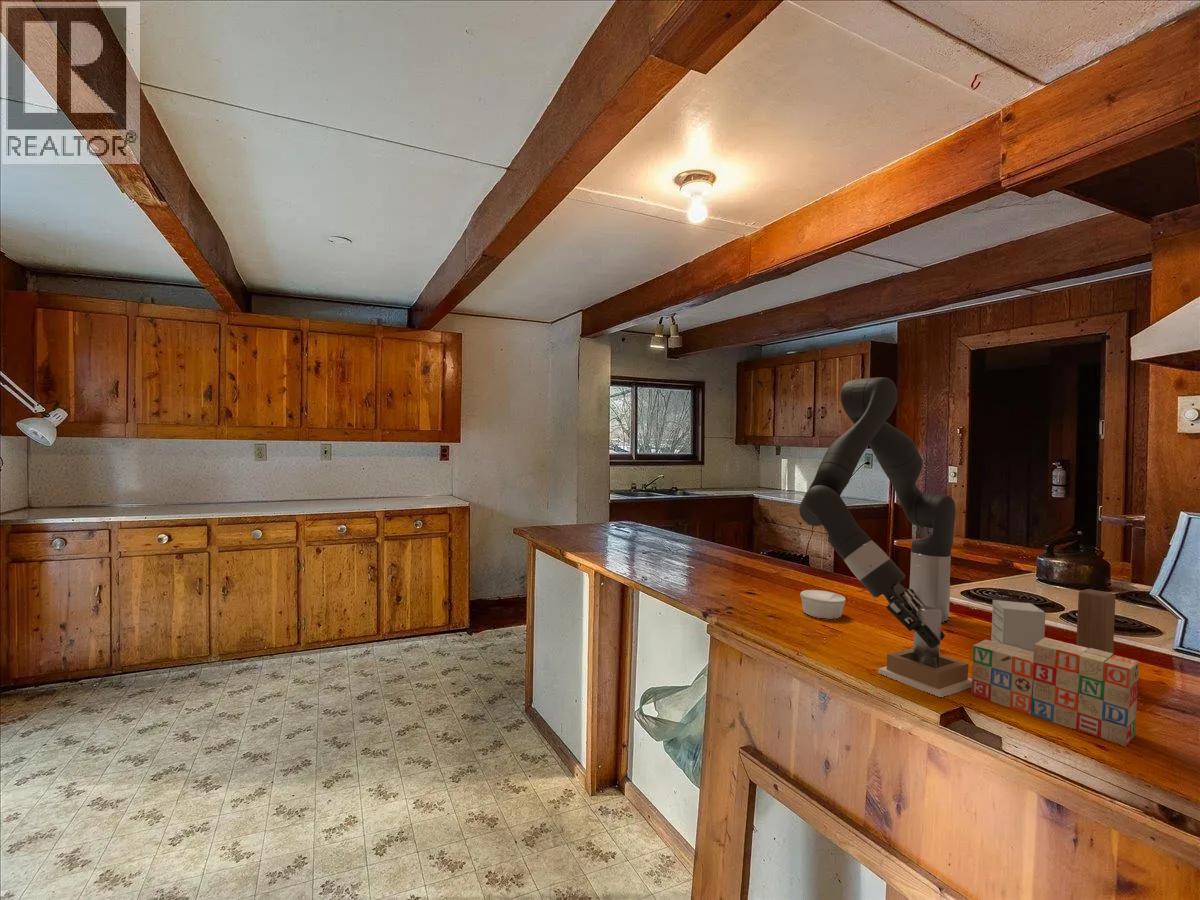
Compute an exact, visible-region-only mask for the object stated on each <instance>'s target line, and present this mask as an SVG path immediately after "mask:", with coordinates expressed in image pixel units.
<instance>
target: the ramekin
mask: <svg viewBox="0 0 1200 900" xmlns="http://www.w3.org/2000/svg"><path fill="white" fill-rule="evenodd" d="M799 596H800V598H801V605H802V611H803V613H804V614H805V613H806V614H805V615H807V614H808V615H810V616H809V617H811V616H813V617H812V618H814V617H818V618H817V619H819V618H828V619H832V618H838V619H840V618H841V617H842V615H843V611H844V607H845V604H846V597H845V596H844V595H841V594H839V593H835V592H831V591H827V590H818V589H805V590H803V591H801V592H800V595H799ZM808 615H807V616H808ZM839 617H840V618H839ZM828 619H827V620H828Z"/></svg>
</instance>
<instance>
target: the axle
mask: <svg viewBox="0 0 1200 900" xmlns="http://www.w3.org/2000/svg"><path fill="white" fill-rule="evenodd" d="M916 607H917V609H918V610H919V612H920V613H919V616H920V617H921V618H922V620H923V621H924V622H925V624H926V625H927V626H928V627H929V628H930V629H931V630H932V632H933V633H934V634H935V635H936V636H937V637H938V638H939V640H940V636H941V631H942V622H941V616H942V611H941V610H939V609H937V608H933V607H928V606H916ZM926 625H925V626H926ZM940 641H941V640H940ZM912 648H913V661H916V662H919V663H921V664H924V665H927V666H930V667H933V668H938V667H939V655H941V654H940V653H941V652H940V651H941V643H940V644H939V645H937V646H936V647H934V648H930V647H929V646H928V645H927V644H926V643H925V641H924V640H923V639H922V638H921V637H920V636H919V634H918V633H917V631H916V632H914V631H913V647H912Z"/></svg>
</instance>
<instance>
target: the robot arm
mask: <svg viewBox="0 0 1200 900" xmlns="http://www.w3.org/2000/svg"><path fill="white" fill-rule="evenodd" d="M840 389H841V390H840V401H841V405H842V408H843V411H844V412H845V414H846V415H847V417H848V418H849V419H850V421H851V422H852V423H853V425H852V426H851V427H850V428H848V430H846V431H845V432H844V433H843V434H841V435H840V436H839V437H838V438H837V439H835V440H834V441H833V442H832V444H830V446H829V447H828V448H827V450H826V452H825V454H824V456H823V457H822V460H821V461H820V463H819V465H818V468H817V471H816V474H815V477H814V478H813V480H812V482H811V484H810V486H809V488H808V489H807V491H806V493H805V494H804V496H803V498H802V500H801V502H800V504H799V510H798V511H799V516H800V518H801V519H802V521H804V522H803V523H806V524H807V525H809V526H811V527H821V526H823V528H824V529H825V531H826V532H827V535H828V536H827V539H828V543H829V544H830V546H831V547H832V548H833V550H834V551H835V552H836V553H837V554H838V555H839V557H840V558H841V559H842V560H843V561H844V563H845V564H846V565H847V567H848V569H850V572H852V574H853V575H854V576H855V578H857V579H858V580H859V582H861V584H862V585H863V587H864V588H865V589H866V590H867V591H868V592H869V594H870V595H871V596H872V597H873V598H876V599H878V597H880V596H881V595H883V596H884V598H885V599H886V600H887V602H888V605H886V609H887V610H888V612H890V613H891V614H892V615H893V616H894V617H895V618H896V619H897V620H898V621H899V622H900V623H901V624H902V625H903V626H904V627H905V628H906V629H907V630H908V631H909V632H911V631H913V633H914V632H916V631H917V633H918V634H919V636H920V637H921V638H922V639H923V640H924V641H925V643H926V644H927V645H928V646H929V647H930V648H934V647H936V646H937V645H939V644H940V645H941V640H943V639H944V638H945V637H946V634H945V633H944V631H942V630H941V636H940V640H939V638H938V637H937V636H936V635H935V634H934V633H933V632H932V630H931V629H930V628H929V627H928V626H927V625H926V624H925V622H924V621H923V620H922V618H921V617H920V616H919V613H920V612H919V610H918V609H917V607H916V606H928V607H933V608H937V609H939V610H941V611H942V616H941V623H945V622H944V621H947V620H948V621H949V618H950V601H951V600H950V598H951V582H950V581H951V580H950V579H951V557H952V547H953V542H954V531H955V523H956V513H957V511H956V509H957V507H956V503H955V501H954V499H953V497H952V496H950V495H948V494H940V493H939V494H938V493H929V492H923V491H921V490H920V489H919V488H918V486H917V484H916V482H917V481H918V479H919V477H920V475H921V473H922V470H923V464H924V463H923V462H924V461H923V459H922V455H921V454H920V452H919V450H918V448H917V447H916V444H915V443H914V441H913V440H912V439H911V438H910V437H909V436H908V435H907V434H906V433H904V432H903V431H901V430H899V428H896V427H895V426H893V425H892V424H890V423H888V422H887V420H888V419H889V418H890V417H891V415H892V413H893V411H894V410H895V408H896V405H897V402H898V389H897V386H896V384H895V382H894V381H893V380H892V379H891V378H888V377H884V376H883V377H881V376H880V377H867V378H866V377H865V378H857V379H852V380H848V381H847V382H845V383H843V384H842V386H841V388H840ZM868 447H869V448H870V449H871V450H872V453H873V454H874V456H875V459H876V460H877V461H878V463H879V465H880V467H881V469H882V470H883V473H884V474H885V475H886V476H887V478H888V480H889V483H890V484H891V485H892V487H893V489H894V492H895V493H896V496H897V498H898V501H899V503H900V505H901V507H902V510H903V512H904V515H905V517H906V518H907V520H908V522H909V523H911V524H912V525H914V526H916V527H921V528H927V529H932V532H931V535H930V536H928V537H926V538H921V539H915V540H913V541H912V542H911V544H910V545H911V547H910V572H909V574H910V575H909V588H908V589H907V588H906V587H904V586H903V585H902V584H901V583H900V582H901V581H904V580H905V578H906V575H905V573H904V572H903V571H902V570H901V569H900V567H899V566H897V564H896V563H895V562H894V560H892V559H891V558H890V556H888V555H887V553H886V552H885V551H884V550H883V548H881V547H880V546H879V545H878V544H877V543H876V542H874V540H873V539H872V538H871V537H870V536H869V535H868V534H867V533H866V532H865V531H864V530H863V529H862V528H861V526H860V525H858V523H857V522H856V520H855V518H854V515H852V513H851V511H850V510H849V508H848V506H847V505H846V503H845V501H844V500H843V499H842V497H841V495H842V493H843V491H844V490H845V489H846V487H847V486H848V484H849V483H850V482H851V481H850V480H851V479H852V476H853V474H854V473H855V470H856V468H857V466H858V464H859V461H860V460H861V458H862V457H863V454H864V453H865V451H866V450H867V448H868ZM948 617H949V618H948ZM948 621H947V622H948ZM925 625H926V626H925Z"/></svg>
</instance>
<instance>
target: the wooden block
mask: <svg viewBox="0 0 1200 900" xmlns="http://www.w3.org/2000/svg"><path fill="white" fill-rule="evenodd" d="M1077 595H1078V596H1077V597H1078V601H1077V619H1076V620H1077V622H1076V623H1077V625H1076V644H1075V645H1078V646H1082V647H1086V648H1093V649H1097V650H1101V651H1105V652H1109V653H1113V655H1115V651H1114V641H1115V640H1114V639H1115V638H1114V637H1115V613H1116V598H1117V597H1116V596H1117V595H1116V594H1115V593H1113V592H1106V591H1101V590H1095V589H1091V588H1087V589H1086V588H1085V589H1083V590H1079V591H1078V594H1077Z"/></svg>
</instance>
